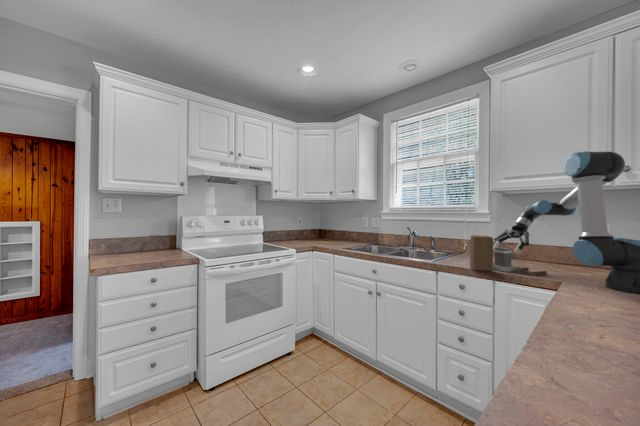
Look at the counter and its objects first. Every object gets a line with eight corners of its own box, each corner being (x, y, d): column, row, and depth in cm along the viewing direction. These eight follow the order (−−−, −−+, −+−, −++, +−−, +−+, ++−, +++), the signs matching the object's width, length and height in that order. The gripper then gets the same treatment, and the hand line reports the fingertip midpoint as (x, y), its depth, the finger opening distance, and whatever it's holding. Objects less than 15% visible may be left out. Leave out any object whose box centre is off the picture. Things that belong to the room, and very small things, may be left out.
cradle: (546, 274, 155) (546, 271, 155) (534, 276, 151) (534, 272, 151) (526, 270, 164) (526, 267, 164) (515, 271, 161) (515, 268, 161)
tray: (519, 270, 165) (520, 266, 165) (505, 272, 160) (505, 267, 160) (499, 266, 176) (500, 262, 176) (485, 267, 172) (485, 263, 172)
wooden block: (473, 270, 163) (474, 236, 163) (469, 267, 172) (470, 235, 172) (493, 272, 160) (493, 237, 160) (488, 268, 170) (488, 235, 169)
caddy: (511, 268, 166) (511, 248, 166) (503, 269, 164) (504, 249, 164) (501, 266, 172) (501, 247, 172) (494, 267, 170) (494, 247, 170)
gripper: (546, 231, 164) (528, 258, 158) (504, 228, 187) (488, 252, 182) (540, 222, 162) (522, 249, 156) (499, 221, 185) (482, 244, 180)
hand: (504, 251), depth 169 cm, fingers open, 13 cm apart
